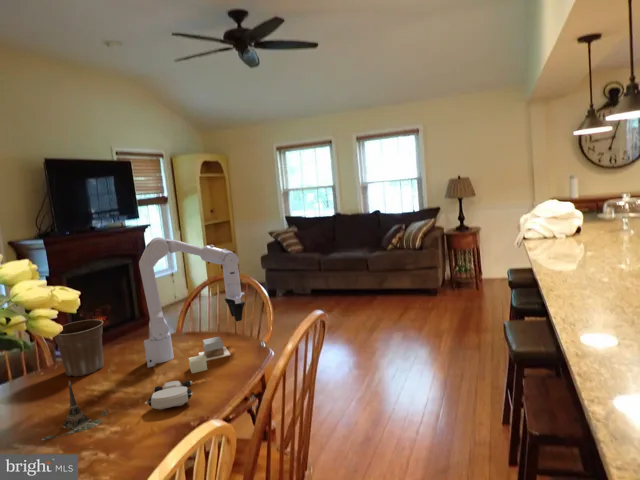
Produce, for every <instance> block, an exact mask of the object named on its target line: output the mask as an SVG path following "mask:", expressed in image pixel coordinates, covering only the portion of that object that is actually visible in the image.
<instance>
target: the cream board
mask: <svg viewBox="0 0 640 480" xmlns="http://www.w3.org/2000/svg"><path fill="white" fill-rule="evenodd" d="M223 350H224V355H220V356H215V357H211V358H207V357H206V355H205V353H204V351H200V352H198V356H200V355H204V356H205V358H206V362H207V361H212V360H217V359H220V358H224V357H228V356H231V355H232V354H231V353H230V351H229V350H228V348H227V347H226V346H223Z"/></svg>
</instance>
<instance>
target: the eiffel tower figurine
mask: <svg viewBox="0 0 640 480" xmlns="http://www.w3.org/2000/svg"><path fill="white" fill-rule="evenodd" d="M67 385H68V389H69V391H68V392H69V403H70V404H69V411H68V414H66V419H65V420H64V423H63V424H62V426H61V428H63V429H68V430H69V431H68V432H65V433H63V434H62V435H55V436H54V435H51V434H50V435H47V436H45V437H43V438H42V439H41V441H45V440H49V439H50V440H51V439H54V438H59V437H63V436H66V435H69V434H74V433H78V432H82V431H86V430H91V429H93V428H94V427H96V426H98V425H100V424H101V423H102V420H103V419H101V418H97V419H91V418H90V417H88V416H87V415H86V414H85V413H84V411H83V410H81V409H80V407H79V405H78V403H77V401H76V399H75V394H74V391H73V387H72V382H71V381H68V383H67ZM107 411H108V410H107V409H105V410H102V414H100V415H99V417H104V416H107Z"/></svg>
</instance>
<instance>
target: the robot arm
mask: <svg viewBox="0 0 640 480" xmlns="http://www.w3.org/2000/svg"><path fill="white" fill-rule="evenodd" d="M177 252H181V253H185V254H190V255H194V256H198V257H200V258H201V260H202V261H204V262H208V263H211V264H215V265H222V271H223V272H222V275H223V282H224V291H225V298H224V301H225V302H226V305H227V306H228V308H229V313H230V316H231V317H233V318H234V320H235V322H240V321H242V319H243V312H244V311H243V310H244V307H245V304H246V302H245V301H242V299H241V298H242V296H246V295H245V292H242V287H241V280H240V271H239V262H240V259H239V257H238V254H236V253H235V252H233V251H230V249H229V250H228V249H227V248H219V247H215V245H214V244H209V245H205V246H203V247H200V246H198V245H194V244H190V243H188V242H184V241H181V240H177V239H172V238H163V237H154V238H152V239H151V240H150V241H149V242H148V243H147V244H146V246H145V249H144V250H143V253H142V255H141V257H140V259H139V261H138V266H139V271H140V277H141V281H142V282H141V283H142V287H143V290H144V291H143V292H144V296H145V301H146V306H147V310H148V316H149V322H148V328H149V336H148V337H149V338H148V339H145V340H143V345H144V346H143V347H144V353H145V356H144V359H145V362H146V364H147V368H152V367H153V368H154V367H156V364H161V363H165V362H170V361H171V360H173V359H174V356H175V355H174V351H173V343H172V335H171V332H169V331H170V328H169V325H168V320H167V319H166V318H165V317H164V313H163V310H162V309H163V308H162V303H161V299H160V294H159V289H158V284H157V280H156V279H157V277H156V274H155V268H154V267H155V266H156V264H157V263H158V262H159V261H160V260H161V259H163V258H164V257H166V256H167V255H168V253H170V254H174V253H177Z"/></svg>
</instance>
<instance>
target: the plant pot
mask: <svg viewBox="0 0 640 480" xmlns="http://www.w3.org/2000/svg"><path fill="white" fill-rule="evenodd" d="M103 325H104V321H103V320H101V319H85V320H79V321H73V322H70V323H66V324H63V325H62V326H63V331H62V332H61V333H60V334H59V335H57V336H55V337H54V340H55V344H57V348H58V350H59V354H60V357H61V361H62V365H63V368H64V371H65V372H64V373H65V375H66V376H67V377H71V376H73V377H81V376H87V375H90V374H93V373H96V372H98V370H100V369H102V368H103V367H104V365H105V363H104V351H103V350H104V349H103V331H104V330H103Z"/></svg>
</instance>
